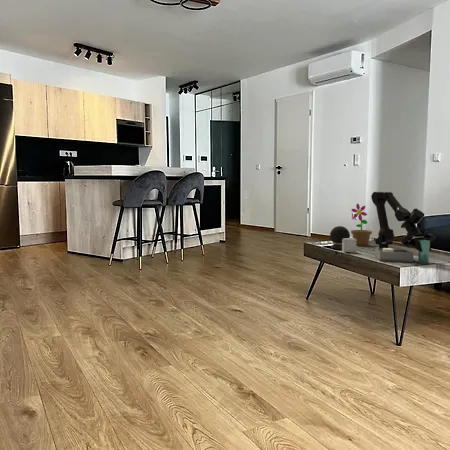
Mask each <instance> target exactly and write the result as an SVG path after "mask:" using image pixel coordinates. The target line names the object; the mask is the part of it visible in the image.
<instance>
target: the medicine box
mask: <svg viewBox="0 0 450 450" xmlns="http://www.w3.org/2000/svg"><path fill="white" fill-rule="evenodd" d="M356 241H357V240H356V239H354V238H353V237H350V238H343V239H342V249H341V252H342V251H343V252H342V253H344V252H351V253H352V254H353V253H357V245H356Z"/></svg>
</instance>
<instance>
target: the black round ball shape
mask: <svg viewBox="0 0 450 450" xmlns="http://www.w3.org/2000/svg"><path fill="white" fill-rule="evenodd" d="M343 238H351V232H350V231H349V230H348V228H347V227H345V226H342V225H338V226H335V227H333V228H332V229H331V230H330V233H329V239H330V241H331V242H332V245H331V247H330V248H331V249H333V248H335V249H334V250H342V239H343Z"/></svg>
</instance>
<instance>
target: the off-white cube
mask: <svg viewBox="0 0 450 450" xmlns="http://www.w3.org/2000/svg"><path fill="white" fill-rule="evenodd" d="M394 249H395V248H391V247H389V248H383V251H382V252H394Z"/></svg>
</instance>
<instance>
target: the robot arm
mask: <svg viewBox="0 0 450 450" xmlns="http://www.w3.org/2000/svg"><path fill="white" fill-rule="evenodd" d="M371 201H372V203H373V205H374V206H375V208H376V213H377V218H378V224H379V231H378V237H377V238H376V239H375V241H374V242H375V245H378V249H383V248H390V246H389V245H393V242H394V240H395V234H394V229H391V228H390V226H389V221H388V217H387V216H388V215H387V212H386V202H387V204H388V205H389V206H390V207H391V209H392V210H393V211H394V216H395V218H396V220H397V221H398V222H402V223H401V225H400V228H401V229H405V231H406V234H405V235H404V236H403V237H402V239H401V241H400V242H401V243H402V245H403V246H404V247H407V248H408V249H410V248H414V249H416V250H417V251H418V252H419V251H420V252H422V249H421V246H420V244H419V240H430V247H429V253H430V252H431V251H432V247H431V246H432V243H431V242H433V241H434V240H435V239H436V236H435V234H433V233H426V235H424V233H423V232H421V231H420V227H419V226H417V224H419V223H420V222H421V220H422V219H423V218H424V217H425V213H424V212H423V211H422V210H420V209H418V208H413V210H412V211H411V212H410V211H409V210H408V209H407V208H405V207H403V206H402V204H401V203H400V202H399V201H398V200H397V198H396V197H395V196H394V193H393V192H391V191H373V192H372V193H371Z"/></svg>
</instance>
